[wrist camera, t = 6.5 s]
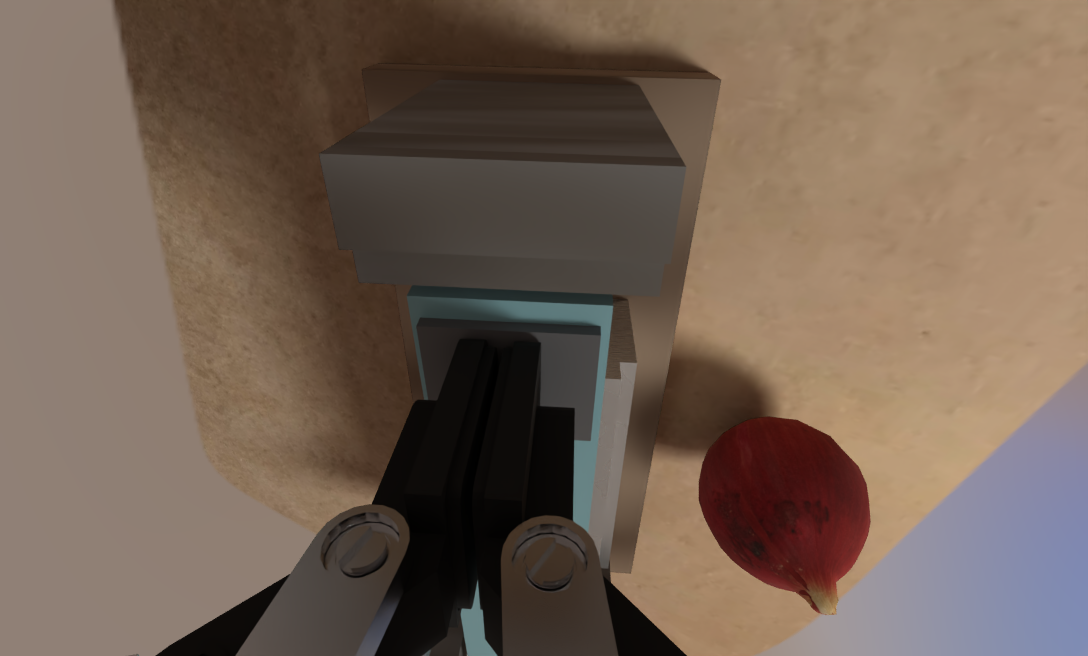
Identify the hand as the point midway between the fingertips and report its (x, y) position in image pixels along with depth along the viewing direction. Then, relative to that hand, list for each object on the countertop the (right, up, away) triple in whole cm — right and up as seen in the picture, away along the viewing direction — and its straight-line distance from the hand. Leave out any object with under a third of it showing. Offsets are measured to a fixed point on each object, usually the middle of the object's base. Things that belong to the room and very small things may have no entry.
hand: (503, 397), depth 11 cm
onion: (+10, -3, +12) cm, 16 cm away
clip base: (+1, 0, +11) cm, 11 cm away
